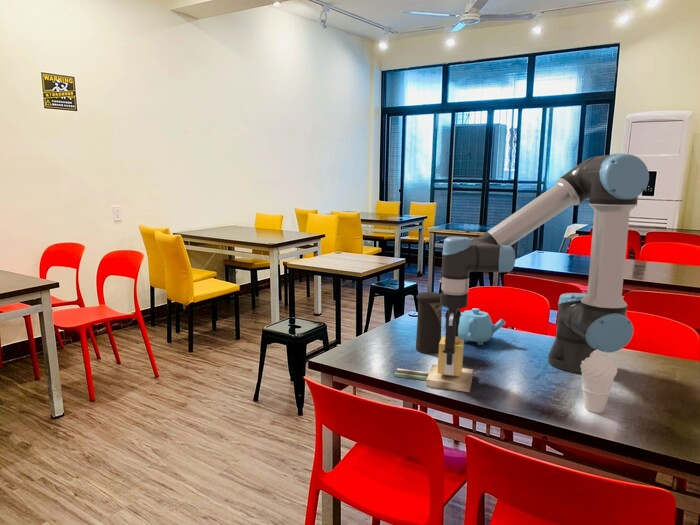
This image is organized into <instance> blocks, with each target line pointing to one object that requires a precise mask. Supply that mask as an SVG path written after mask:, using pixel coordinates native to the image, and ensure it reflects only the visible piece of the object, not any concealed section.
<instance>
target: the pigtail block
mask: <svg viewBox="0 0 700 525" xmlns="http://www.w3.org/2000/svg"><path fill="white" fill-rule="evenodd" d="M473 373H474V369H473V368H472V369H471V368H464V367H462V372H461V376H452V375H445V374H439V373H438V364H431V367H430V369H429V371H428V372H427V371H419V370H413V369H405V368H396V370H395V372H394V375H393V376H394V377H396V378H404V379H405V378H406V379H411V380H412V379H413V380H420V381H425V386H426V387H430V388H435V389H442V390H451V391H459V392H465V393H470V392H471V387H472V380H473V377H474V376H473Z"/></svg>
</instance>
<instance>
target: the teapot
mask: <svg viewBox="0 0 700 525" xmlns="http://www.w3.org/2000/svg"><path fill="white" fill-rule="evenodd" d="M506 323H507V322H506V321H505V320H504V319H502V318H500V319H499V320H498V321H497V322H496V323H494V324H493V321H492V319H491V316H490V315H489V313H488V312H485V311H481V310H480V308H475V307H474V308H472V309H471V310H470V309H469V310H464V311H463V312H461V316H460V323H459V328H458V337H460V339H464V343H468V342H476V344H477V345H480V346H483V345H484V344H485V343H486V342H488V341H490V340H491V338H492V337H493V336H494V333H495V332H497V331H498V330H500V328H502V327H503V326H505V325H506Z"/></svg>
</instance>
